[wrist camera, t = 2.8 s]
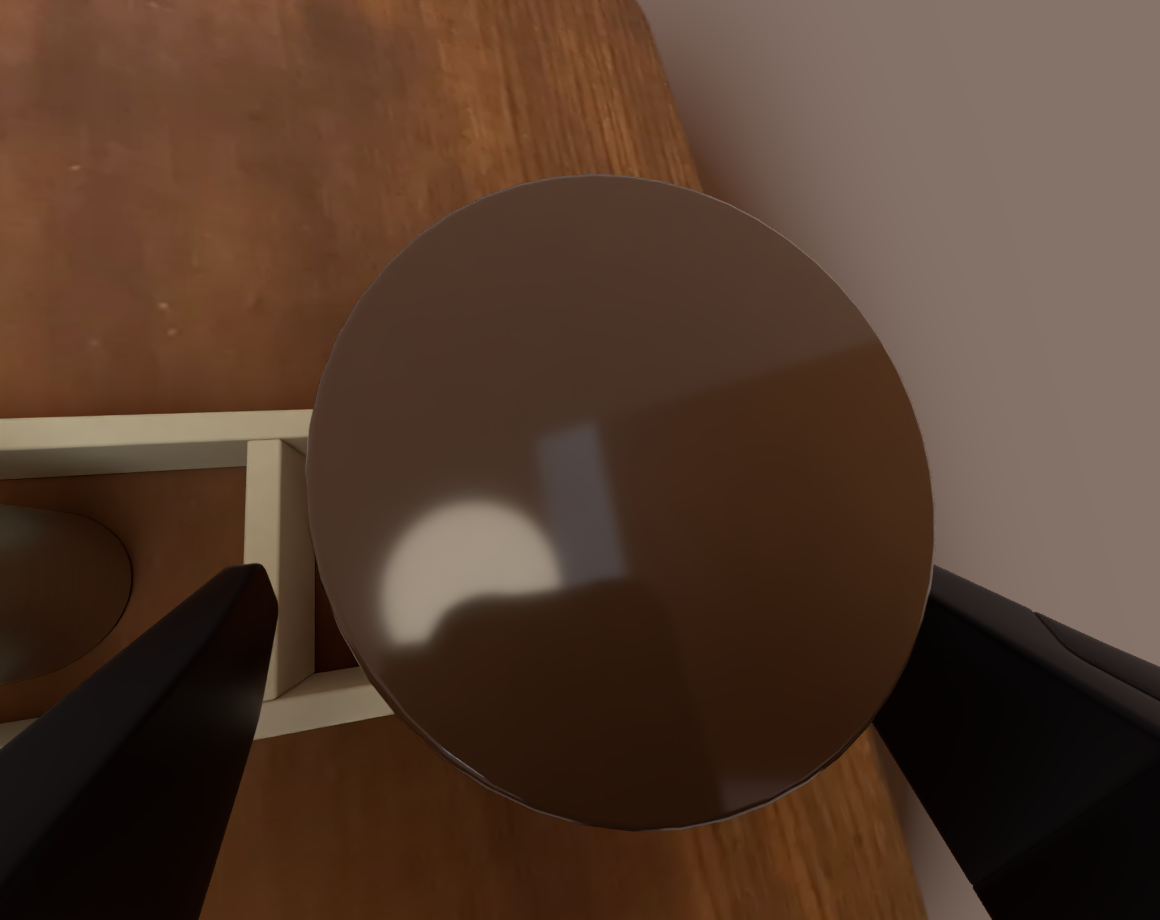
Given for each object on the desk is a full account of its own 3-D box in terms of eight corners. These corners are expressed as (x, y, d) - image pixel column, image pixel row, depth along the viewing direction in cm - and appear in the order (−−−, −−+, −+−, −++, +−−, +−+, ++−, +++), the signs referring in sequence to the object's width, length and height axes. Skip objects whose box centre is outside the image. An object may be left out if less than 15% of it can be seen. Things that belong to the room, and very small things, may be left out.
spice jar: (594, 610, 16) (1013, 744, 4) (437, 633, 15) (297, 954, 2) (577, 464, 17) (861, 194, 5) (429, 473, 16) (302, 137, 4)
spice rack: (668, 423, 18) (705, 396, 16) (702, 635, 17) (750, 648, 14) (-267, 464, 12) (-498, 432, 9) (-359, 818, 10) (-676, 914, 7)
